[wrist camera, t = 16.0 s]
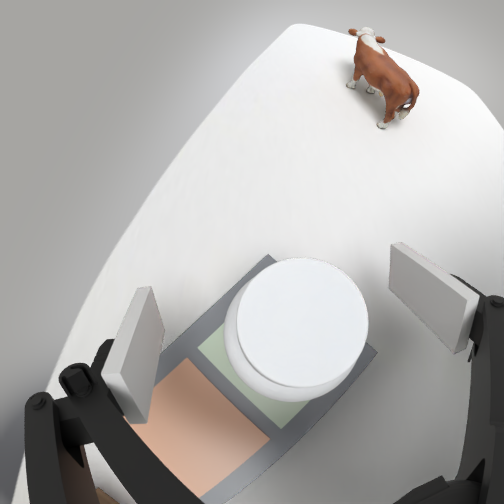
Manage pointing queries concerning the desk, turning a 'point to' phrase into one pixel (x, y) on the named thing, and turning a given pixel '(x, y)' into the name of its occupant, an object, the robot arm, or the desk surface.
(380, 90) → the bull figurine
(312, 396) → the pill bottle
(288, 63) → the desk surface
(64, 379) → the robot arm
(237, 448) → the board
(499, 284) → the desk surface
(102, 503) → the walnut block
